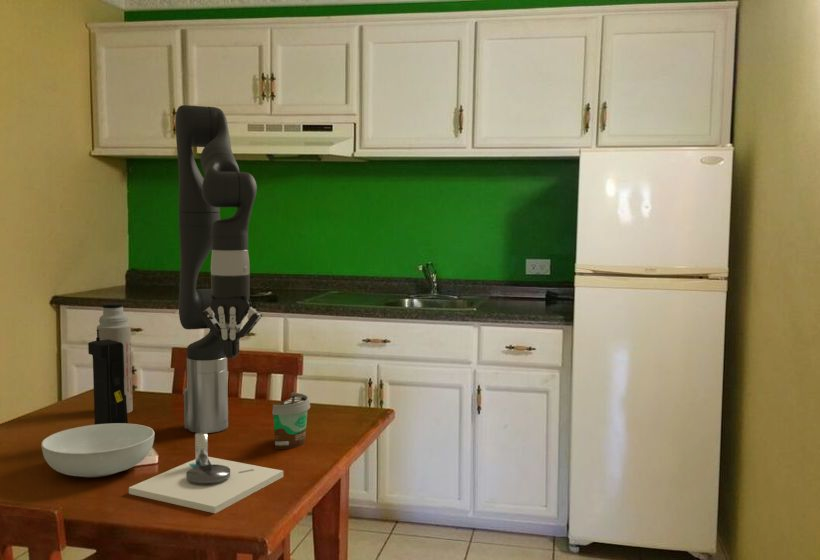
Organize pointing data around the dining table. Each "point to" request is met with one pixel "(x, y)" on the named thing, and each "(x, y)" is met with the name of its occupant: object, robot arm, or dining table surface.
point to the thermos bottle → (120, 331)
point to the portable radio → (108, 381)
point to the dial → (205, 465)
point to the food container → (291, 421)
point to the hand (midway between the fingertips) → (231, 357)
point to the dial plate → (206, 486)
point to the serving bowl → (98, 449)
